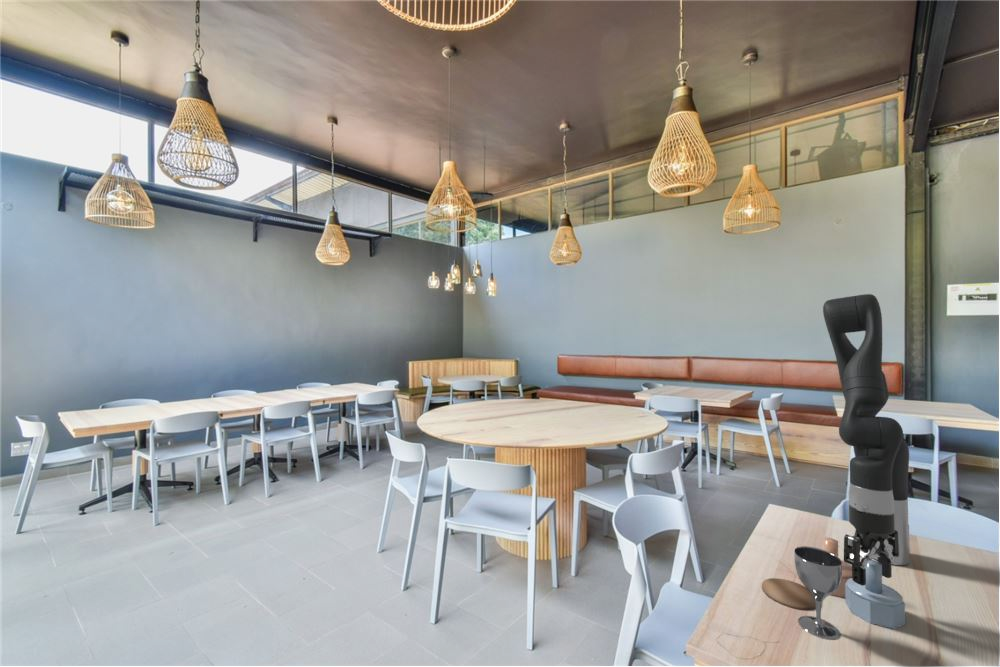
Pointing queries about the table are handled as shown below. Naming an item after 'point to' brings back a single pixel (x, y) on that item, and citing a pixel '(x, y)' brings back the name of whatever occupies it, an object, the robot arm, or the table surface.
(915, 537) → the table surface
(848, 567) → the terracotta cloche
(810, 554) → the wine glass
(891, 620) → the slate cloche
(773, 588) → the disc
